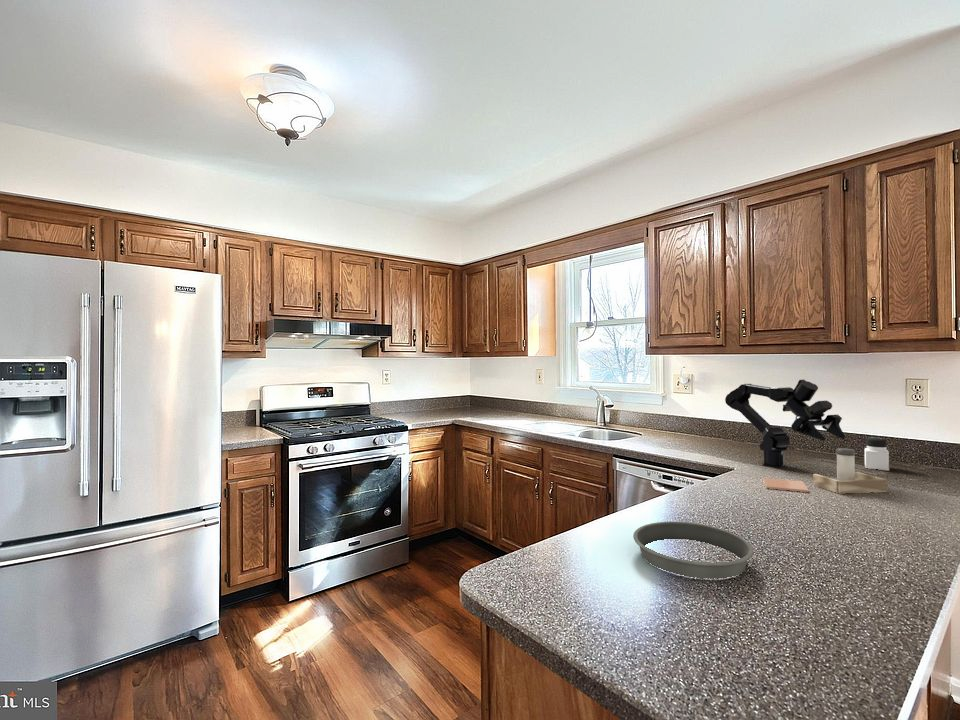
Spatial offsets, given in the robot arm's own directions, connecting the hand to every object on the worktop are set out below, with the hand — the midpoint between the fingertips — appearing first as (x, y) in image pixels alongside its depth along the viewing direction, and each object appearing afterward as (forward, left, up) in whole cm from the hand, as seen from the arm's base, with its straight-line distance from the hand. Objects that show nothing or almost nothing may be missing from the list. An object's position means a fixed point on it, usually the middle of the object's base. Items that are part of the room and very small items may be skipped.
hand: (834, 439), depth 167 cm
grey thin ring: (-9, -101, -16) cm, 102 cm away
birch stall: (+5, -8, -15) cm, 18 cm away
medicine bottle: (+7, +34, -15) cm, 38 cm away
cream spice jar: (+4, -8, -15) cm, 17 cm away
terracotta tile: (-11, -20, -15) cm, 27 cm away
